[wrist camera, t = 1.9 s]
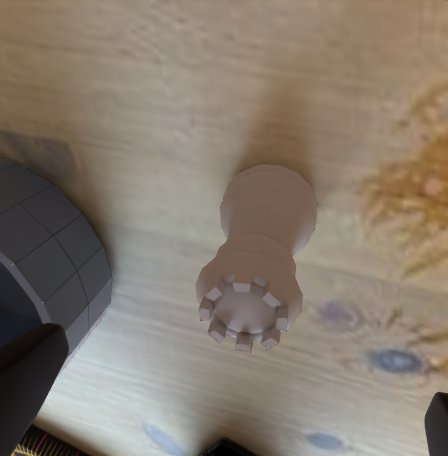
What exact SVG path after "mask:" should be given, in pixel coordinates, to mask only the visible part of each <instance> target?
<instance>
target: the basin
mask: <svg viewBox="0 0 448 456" xmlns="http://www.w3.org/2000/svg"><path fill="white" fill-rule="evenodd" d="M111 286H112V274H111V271H110V267H109V264H108V261H107V257H106V254H105V250H104V247H103V246H102V243H101V242H100V240H99V239H98V237H97V235H96V234H95V232H94V231H93V229H92V227H91V226H90V224H89V222H88V221H87V219H86V218H85V216H84V215H83V213H82V212H81V211H80V210H79V209H78V208H77V207H76V206H75V205H74V204H73V203H72V202H71V201H70V200H69V199H68V198H67V197H66V196H65V195H64V194H63V193H62V192H61V191H60V190H59V189H58V188H57V187H56V186H55V185H53V184H52V183H50V182H49V181H47V180H45V179H44V178H42V177H41V176H39V175H37V174H36V173H34V172H32V171H31V170H29V169H28V168H26V167H24V166H23V165H21V164H18V163H17V162H14V161H11V160H7V159H4V158H1V157H0V347H1V346H2V345H4V344H6V343H8V342H10V341H12V340H14V339H16V338H18V337H20V336H22V335H23V334H25V333H27V332H29V331H31V330H33V329H35V328H37V327H39V326H41V325H43V324H45V323H55V324H60V325H62V326H63V327H64V330H65V333H66V337H67V340H68V344H69V353H68V356H67V358H66V360H65V362H64V364H63V366H62V368H61V370H60V372H59V374H58V376H59V375H60V374H61V373H62V371H63V370H64V369H65V367H66V366H67V365H68V363H69V362H70V361H71V359H72V358H73V357H74V355H75V354H76V353H77V351H78V350H79V349H80V348H81V346H82V345H83V344H84V342H85V341H86V340H87V338H88V337H89V336H90V334H91V333H92V332H93V330H94V329H95V328H96V327H97V325H98V324H99V323H100V321H101V319H102V317H103V316H104V314H105V312H106V310H107V308H108V306H109V305H110V302H111ZM58 376H57V378H58ZM57 378H56V379H57ZM56 379H55V380H56ZM54 382H55V381H54Z"/></svg>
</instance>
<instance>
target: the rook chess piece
mask: <svg viewBox="0 0 448 456" xmlns="http://www.w3.org/2000/svg"><path fill="white" fill-rule="evenodd" d="M317 205H318V203H317V200H316V197H315V195H314V192H313V189H312V186H311V185H310V184H309V183H308V182H307V181H306V180H305V179H304V178H303V177H302V176H301V175H300V174H299V173H298V172H296V171H294V170H291V169H289V168H287V167H284V166H282V165H276V164H259V165H256V166H254V167H251V168H248V169H246V170H243V171H241V172H240V173H239V174H238V175H237V176H236V177H235V178H234V179H233V180H232V181H231V182H230V183H229V185H228V187H227V190H226V192H225V195H224V197H223V201H222V203H221V206H220V212H221V227H222V229H223V231H224V233H225V235H226V237H227V242H225V243H224V244H223V245H222V246H221V247H220V248H219V250H218V252H217V255H216V257H215V258H214V259H213V260H212V261H211V262H209V263H208V264H207V265H206V266H205V267H203V268H202V270H201V273H200V275H199V278H198V280H197V282H196V290H197V300H198V302H199V304H200V306H199V312H200V321H210V322H211V325H210V328H209V330H208V334H209V335H210V336H211V337H212V338H214V339H215V340H216V341H217V342H218V343H219V344H220V343H221V341H222V340H223V339H224V338H225V335H226V334H227V335H230V336H232V337H234V338H236V339H237V343H236V347H235V350H236V351H243V352H250V353H251V351H252V345H253V341H257V340H262V342H261V344H262V345H263V346H264V347H265V349H266V350H268V349H270V348H271V347H273V346H275V345H277V344H278V343H279V341H280V332H282V331H286V332H287V328H289V327H290V326H292V325H293V323H294V322H295V320H296V319H297V317H298V316H299V314H300V313H301V307H302V296H303V294H302V292H301V290H300V287H299V285H298V283H297V280H296V278H295V276H296V265H295V263H294V260H293V258H292V256H293V255H294V254H295V253H296V252H298V251H299V250H301V249H302V248H303V247H304V246H305V245H306V243H307V242H308V240H309V238H310V236H311V235H312V233H313V231H314V230H315V222H316V216H317Z"/></svg>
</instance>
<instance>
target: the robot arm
mask: <svg viewBox="0 0 448 456" xmlns="http://www.w3.org/2000/svg"><path fill="white" fill-rule="evenodd" d="M68 353H69V344H68V340H67V337H66V333H65V330H64V327H63V326H62V325H60V324H55V323H45V324H43V325H41V326H39V327H37V328H35V329H33V330H31V331H29V332H27V333H25V334H23V335H22V336H20V337H18V338H16V339H14V340H12V341H10V342H8V343H6V344H4V345H2V346H1V347H0V456H11V455H12V453H13V451H14V450H15V448H16V447H17V445H18V444H19V442H20V440H21V439H22V437H23V436H24V434H25V433H26V431H27V430H28V428H29V426H30V425H31V423H32V422H33V420H34V418H35V417H36V415H37V413H38V412H39V410H40V408H41V406H42V405H43V403H44V401H45V399H46V397H47V395H48V393H49V391H50V389H51V387H52V385H53V383H54V381H55V379H56V378H57V376H58V374H59V372H60V370H61V368H62V366H63V364H64V362H65V360H66V358H67V356H68ZM425 431H426V437H427V443H428V449H429V455H430V456H448V393H443V392H437V393H436V394H435V395H434V397H433V399H432V401H431V403H430V406H429V408H428V410H427V412H426V415H425ZM200 456H254V455H252V454H250V453H249V452H247V451H245V450H244V449H242V448H240V447H238V446H237V445H235V444H233V443H231V442H230V441H228V440H225V439H221V440H219V441H218V442H217V443H216V444H215V445H213V446H212V447H211V448H210V449H209V450H207V451H206V452H205V453H203V454H201V455H200Z"/></svg>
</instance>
